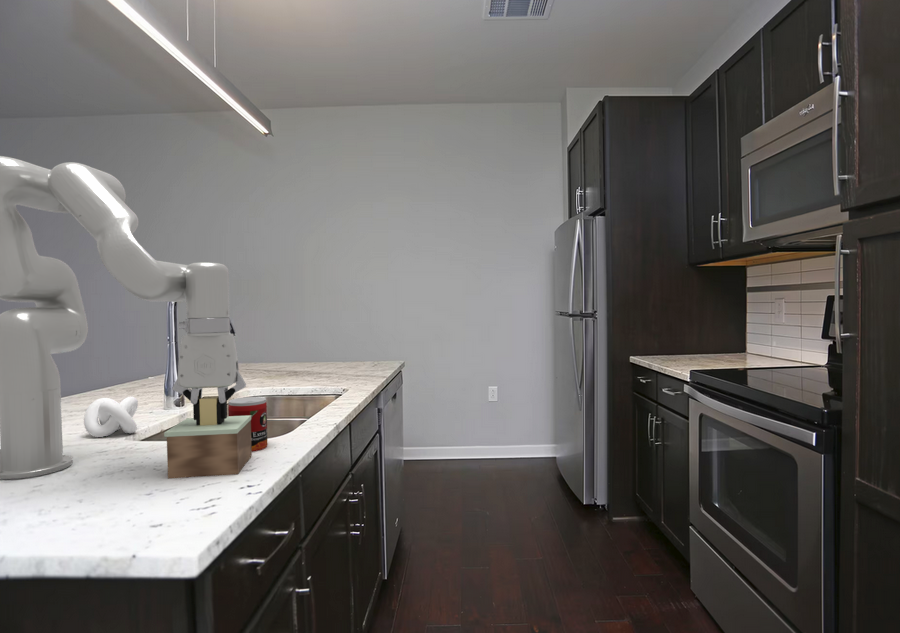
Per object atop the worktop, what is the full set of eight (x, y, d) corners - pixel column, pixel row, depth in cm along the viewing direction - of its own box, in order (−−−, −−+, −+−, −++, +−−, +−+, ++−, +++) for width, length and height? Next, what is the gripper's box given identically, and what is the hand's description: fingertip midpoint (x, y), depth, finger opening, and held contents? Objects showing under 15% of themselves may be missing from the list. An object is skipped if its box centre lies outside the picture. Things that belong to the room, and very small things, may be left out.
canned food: (255, 455, 112) (254, 403, 112) (221, 454, 114) (220, 402, 113) (274, 446, 120) (273, 397, 119) (242, 444, 121) (241, 396, 121)
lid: (164, 436, 96) (163, 404, 96) (187, 422, 108) (186, 393, 108) (237, 433, 98) (236, 401, 98) (251, 419, 110) (250, 391, 110)
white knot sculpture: (110, 428, 141) (109, 394, 141) (154, 428, 140) (153, 394, 140) (77, 438, 130) (76, 402, 129) (124, 439, 129) (123, 401, 128)
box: (167, 481, 96) (166, 436, 96) (189, 462, 108) (188, 422, 108) (238, 476, 98) (236, 433, 98) (251, 458, 110) (250, 419, 110)
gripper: (155, 329, 98) (157, 429, 98) (249, 327, 100) (251, 425, 101) (169, 327, 105) (172, 421, 105) (257, 326, 108) (258, 417, 108)
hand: (210, 422), depth 103 cm, fingers closed on lid, 3 cm apart
